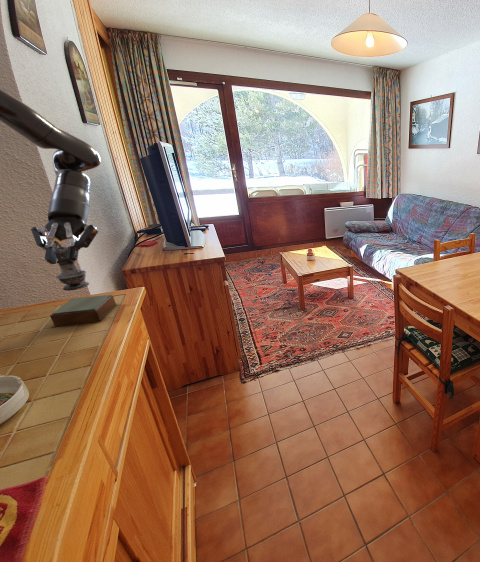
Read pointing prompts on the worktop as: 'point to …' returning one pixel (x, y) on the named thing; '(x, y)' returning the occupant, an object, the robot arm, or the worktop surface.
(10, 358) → the worktop surface
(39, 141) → the robot arm
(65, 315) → the walnut stand
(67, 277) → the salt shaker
